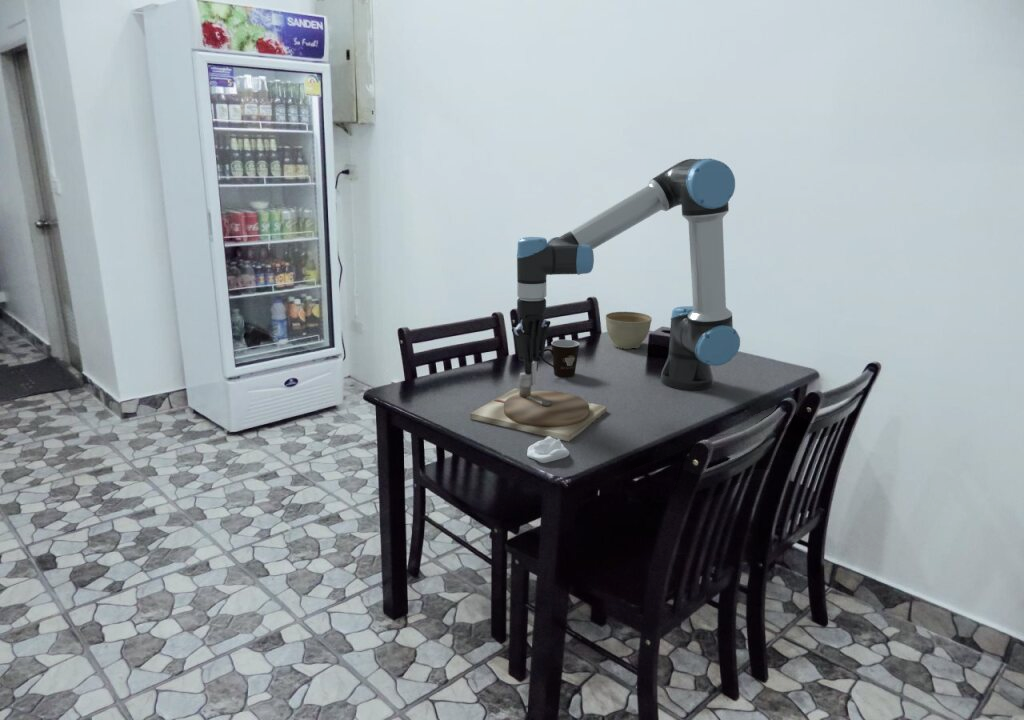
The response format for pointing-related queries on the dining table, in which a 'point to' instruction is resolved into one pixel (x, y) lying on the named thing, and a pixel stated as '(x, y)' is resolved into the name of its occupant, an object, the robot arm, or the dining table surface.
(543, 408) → the wheel
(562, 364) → the coffee mug
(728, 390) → the dining table surface
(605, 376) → the dining table surface
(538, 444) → the crumpled white cloth
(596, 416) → the dial board
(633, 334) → the planter bowl
